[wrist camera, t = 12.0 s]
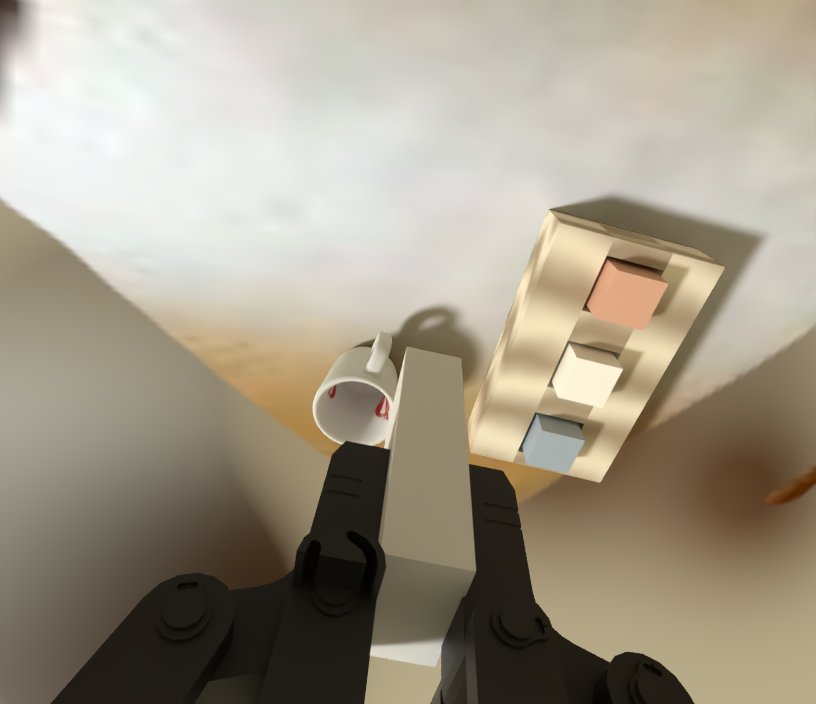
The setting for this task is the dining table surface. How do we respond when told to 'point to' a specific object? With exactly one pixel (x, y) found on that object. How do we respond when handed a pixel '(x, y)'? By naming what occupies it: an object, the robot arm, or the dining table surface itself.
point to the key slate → (552, 442)
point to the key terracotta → (625, 293)
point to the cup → (358, 395)
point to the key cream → (585, 374)
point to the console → (584, 339)
